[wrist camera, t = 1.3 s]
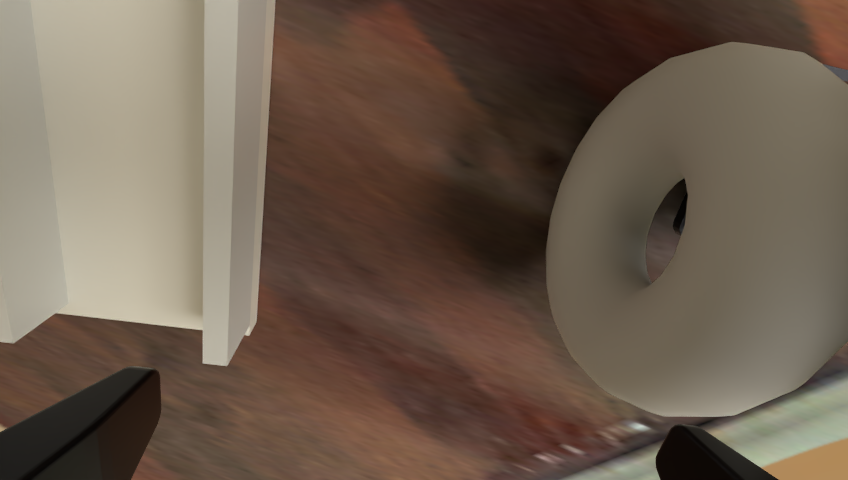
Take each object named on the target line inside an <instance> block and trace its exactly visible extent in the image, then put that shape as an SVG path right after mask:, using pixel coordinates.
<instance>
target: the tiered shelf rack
mask: <svg viewBox="0 0 848 480" xmlns="http://www.w3.org/2000/svg"><path fill="white" fill-rule="evenodd" d="M275 2H276V0H0V342H6V343H15V342H16V341H18V340H19V339H20V338H22V337H23V336H24V335H26V334H27V333H29V332H30V331H31V330H33V329H34V328H36V327H37V326H38V325H40V324H41V323H42V322H44V321H45V320H47V319H48V318H49V317H51V316H52V315H53V314H55V313H60V314H69V315H77V316H86V317H94V318H103V319H111V320H120V321H128V322H137V323H146V324H154V325H163V326H171V327H180V328H188V329H197V330H203V363H204V364H213V365H222V366H227V365H228V364H229V362H230V360H231V358H232V356H233V355H234V353H235V351H236V349H237V347H238V346H239V344H240V342H241V340H242V338H243V336H244V335H248V336H249V335H250V333H251V331H252V330H253V328H254V326H255V324H256V322H257V307H258V290H259V273H260V256H261V239H262V222H263V205H264V188H265V171H266V154H267V137H268V120H269V103H270V87H271V70H272V53H273V36H274V19H275Z"/></svg>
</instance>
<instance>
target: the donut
mask: <svg viewBox="0 0 848 480" xmlns="http://www.w3.org/2000/svg"><path fill="white" fill-rule="evenodd" d="M684 178H685V181H686V187H687V193H688V200H687V209H686V218H685V226H684V229H683V232H682V234H681V237H680V240H679V243H678V245H677V248H676V251H675V254H674V256H673V258H672V259H671V261H670V262H669V264H668V265H667V267H666V268H665V270H664V272H663V273H662V275H661V276H660V277H659V278H657V279H656V280H655V281H654V282H653V283H651V281H650V278H649V276H648V273H647V265H646V256H645V254H646V245H647V237H648V232H649V229H650V226H651V223H652V220H653V217H654V215H655V212H656V211H657V209H658V207H659V206H660V204H661V202H662V201H663V199H664V197H665V196H666V194H667V193H668V192H669V191H670V190H671V189H672V188H673V187H674V186H675V185H676V184H677V183H678V182H679V181H681V180H682V179H684ZM546 287H547V292H548V297H549V302H550V307H551V312H552V317H553V320H554V322H555V324H556V326H557V328H558V331H559V333H560V335H561V337H562V339H563V341H564V344H565V346H566V348H567V349H568V351H569V353H570V355H571V356H572V358H573V359H574V360H575V361H576V362H577V363H578V365H579V366H580V367H581V368H582V369H583V370H584V371H585V372H586V373H587V374H588V375H589V376H590V378H591V379H592V380H593V381H594V382H595V383H596V384H597V385H599V386H600V387H601V388H602V389H604V390H605V391H606V392H607V393H609V394H611V395H613V396H615V397H618V398H620V399H622V400H624V401H626V402H628V403H631V404H633V405H635V406H637V407H639V408H641V409H644V410H646V411H649V412H652V413H655V414H658V415H661V416H697V417H717V416H733V415H736V414H739V413H741V412H743V411H746V410H748V409H750V408H753V407H755V406H758V405H760V404H762V403H765V402H767V401H770V400H772V399H774V398H777V397H779V396H781V395H784V394H786V393H789V392H791V391H793V390H795V389H797V388H798V387H800V386H801V385H802V384H804V383H805V382H806V381H807V380H808V379H809V378H810V377H812V376H813V375H814V374H815V373H816V372H817V371H818V370H819V369H820V368H821V367H822V366H823V365H824V364H825V363H826V362H827V361H828V360H829V359H830V358H831V357H832V356H833V355H834V354H835V353H836V352H837V351H838V350H839V349H840V348H841V347H842V346H844V345H845V344H846V343H847V342H848V84H846V83H845V82H844V81H843V80H841V79H840V78H839V77H838V76H836V75H835V74H834V73H833V72H831V71H830V70H829V69H828V68H826V67H825V66H824V65H823V64H821V63H820V62H818V61H817V60H815V59H813V58H812V57H810V56H809V55H807V54H805V53H804V52H798V51H792V50H786V49H779V48H773V47H767V46H761V45H755V44H748V43H738V42H729V43H725V44H721V45H717V46H713V47H710V48H706V49H702V50H698V51H695V52H691V53H687V54H683V55H680V56H676V57H672V58H669V59H668V60H666V61H665V62H663V63H662V64H660V65H659V66H657V67H656V68H654V69H652V70H651V71H649V72H648V73H646V74H645V75H643V76H642V77H640V78H639V79H637V80H636V81H634V82H633V83H631V84H630V85H628V86H627V87H625V88H624V89H623V90H622V91H621V92H620V93H619V94H618V95H617V96H616V97H615V98H614V99H613V100H612V101H611V102H610V104H609V105H608V106H607V107H606V108H605V109H604V110H603V111H602V112H601V113H600V114H599V115H598V116H597V118H596V119H595V121H594V122H593V124H592V125H591V127H590V128H589V130H588V131H587V133H586V135H585V136H584V138H583V139H582V141H581V142H580V144H579V145H578V147H577V148H576V150H575V152H574V155H573V157H572V159H571V161H570V163H569V166H568V168H567V170H566V172H565V175H564V177H563V179H562V181H561V183H560V186H559V190H558V193H557V197H556V200H555V203H554V207H553V210H552V214H551V218H550V225H549V232H548V239H547V246H546Z"/></svg>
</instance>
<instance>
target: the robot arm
mask: <svg viewBox="0 0 848 480" xmlns="http://www.w3.org/2000/svg"><path fill="white" fill-rule="evenodd" d="M823 65H824V64H823ZM824 66H825V67H826V68H828V69H829V70H830V71H831V72H833V73H834V74H835V75H836V76H838V77H839V78H840V79H841V80H843V81H844V82H845V83H846V84H848V70H845V69H841V68H836V67H832V66H828V65H824ZM687 200H688V193H687V192H686V194H685V196H684V199H683V201H682V203H681V206H680V208H679V210H678V213H677V215H676V217H675V219H674V223H673V229H674V231H675V232H676V233H677V234H679V235H681V234H682V232H683V229H684V226H685V218H686V209H687ZM160 414H161V390H160V375H159V372H158V371H157V370H156V369H154V368H146V367H137V366H130V367H126V368H124V369H122V370H120V371H118V372H116V373H114V374H112V375H110V376H108V377H106V378H104V379H102V380H100V381H98V382H97V383H95V384H93V385H91V386H89V387H87V388H85V389H83V390H81V391H79V392H77V393H75V394H73V395H71V396H69V397H67V398H66V399H64V400H62V401H60V402H58V403H56V404H54V405H52V406H50V407H48V408H46V409H44V410H42V411H40V412H38V413H36V414H34V415H33V416H31V417H29V418H27V419H25V420H23V421H21V422H19V423H17V424H15V425H13V426H11V427H9V428H7V429H5V430H4V431H1V432H0V480H131V478H132V476H133V474H134V472H135V470H136V468H137V466H138V464H139V461H140V459H141V457H142V455H143V453H144V451H145V449H146V447H147V445H148V443H149V441H150V439H151V437H152V434H153V432H154V430H155V428H156V426H157V424H158V421H159V418H160ZM656 468H657V471H658V474H659V477H660V479H661V480H778V479H777V478H775V477H773V476H772V475H770V474H769V473H768V472H766V471H764V470H763V469H762V468H760V467H759V466H757V465H756V464H754V463H753V462H751V461H750V460H748V459H747V458H745V457H744V456H742V455H741V454H739V453H738V452H736V451H735V450H733V449H732V448H730V447H729V446H727V445H726V444H724V443H723V442H721V441H720V440H718V439H717V438H715V437H714V436H712V435H711V434H709V433H708V432H706V431H705V430H703V429H701V428H699V427H697V426H691V425H682V424H678V425H675V426H673V427H672V428H671V429H670V431H669V433H668V434H667V436H666V438H665V440H664V442H663V444H662V446H661V448H660V449H659V451H658V453H657V456H656Z"/></svg>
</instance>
